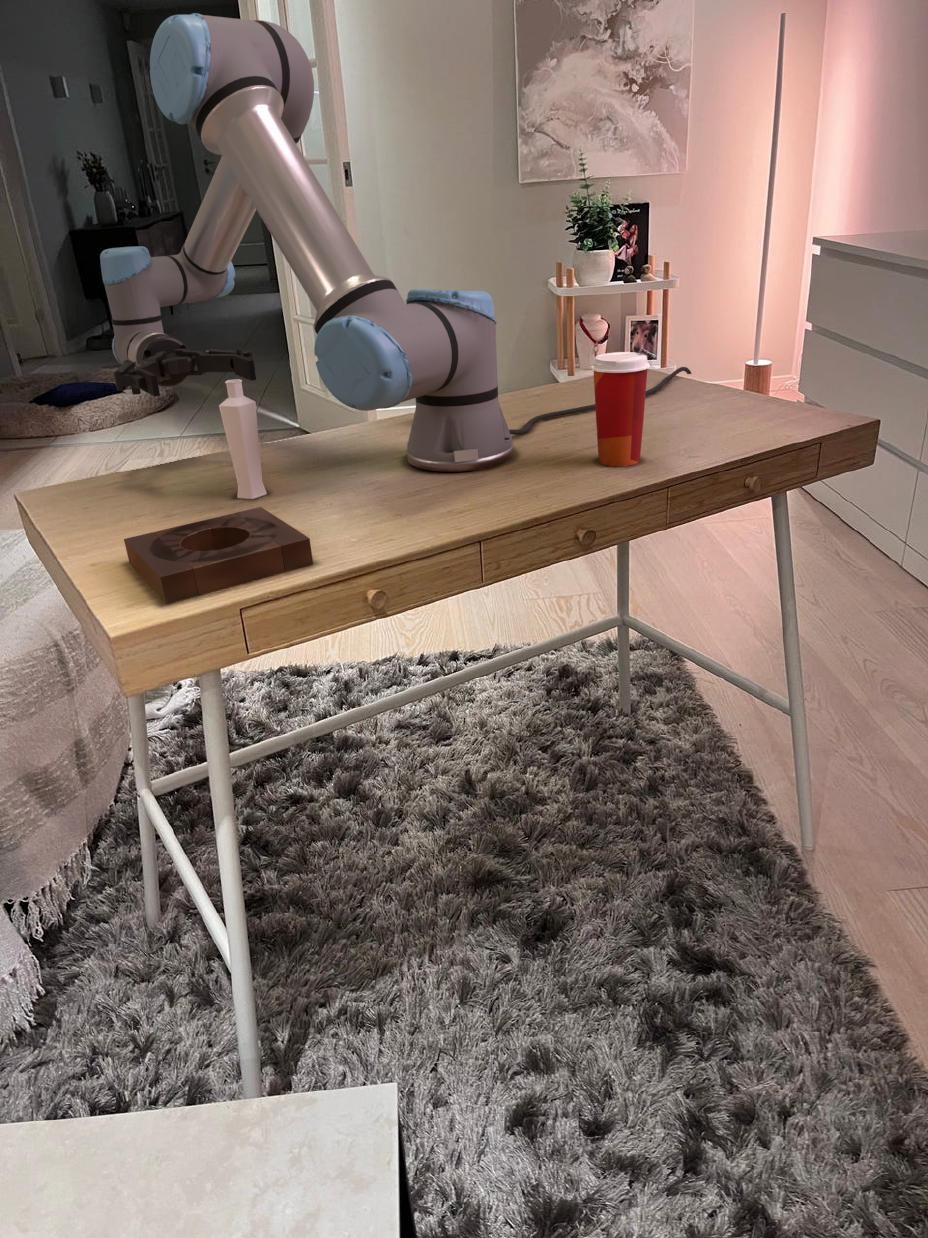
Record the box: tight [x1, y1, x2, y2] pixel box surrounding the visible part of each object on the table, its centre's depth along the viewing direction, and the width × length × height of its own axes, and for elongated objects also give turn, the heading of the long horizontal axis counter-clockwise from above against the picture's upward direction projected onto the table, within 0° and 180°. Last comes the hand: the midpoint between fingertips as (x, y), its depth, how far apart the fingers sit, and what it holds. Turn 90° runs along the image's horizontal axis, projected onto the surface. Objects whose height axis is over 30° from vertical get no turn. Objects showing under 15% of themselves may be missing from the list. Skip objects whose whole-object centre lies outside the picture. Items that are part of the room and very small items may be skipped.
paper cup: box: [590, 351, 651, 467], centre depth 126 cm, size 8×8×14 cm
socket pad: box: [123, 506, 314, 605], centre depth 102 cm, size 16×14×3 cm
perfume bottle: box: [218, 378, 268, 500], centre depth 122 cm, size 5×4×15 cm
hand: (205, 378), depth 128 cm, fingers open, 13 cm apart
